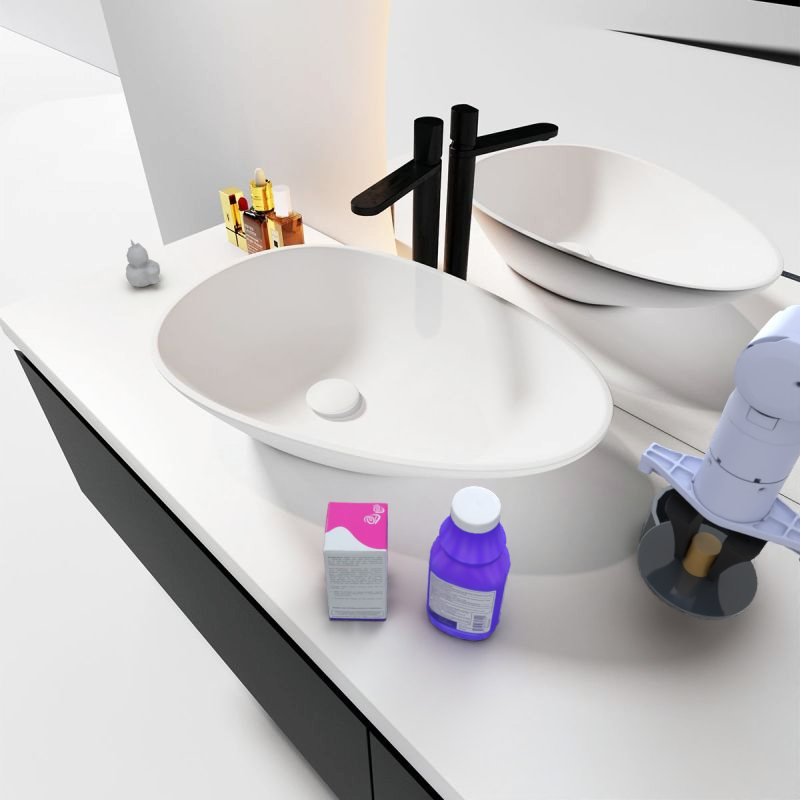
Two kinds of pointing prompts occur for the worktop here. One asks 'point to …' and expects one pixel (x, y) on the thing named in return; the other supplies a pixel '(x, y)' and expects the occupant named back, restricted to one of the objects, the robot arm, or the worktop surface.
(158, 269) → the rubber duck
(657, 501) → the pot
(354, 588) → the supplement box
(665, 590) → the lid
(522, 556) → the worktop surface
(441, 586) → the bottle
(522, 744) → the worktop surface
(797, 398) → the robot arm
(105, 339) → the worktop surface
